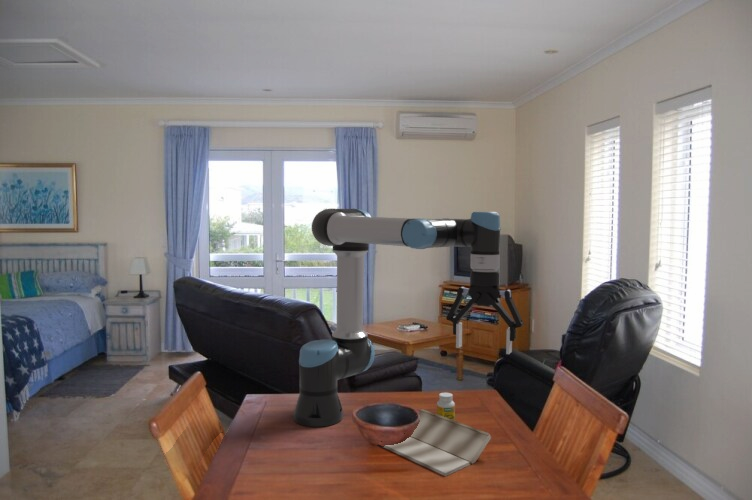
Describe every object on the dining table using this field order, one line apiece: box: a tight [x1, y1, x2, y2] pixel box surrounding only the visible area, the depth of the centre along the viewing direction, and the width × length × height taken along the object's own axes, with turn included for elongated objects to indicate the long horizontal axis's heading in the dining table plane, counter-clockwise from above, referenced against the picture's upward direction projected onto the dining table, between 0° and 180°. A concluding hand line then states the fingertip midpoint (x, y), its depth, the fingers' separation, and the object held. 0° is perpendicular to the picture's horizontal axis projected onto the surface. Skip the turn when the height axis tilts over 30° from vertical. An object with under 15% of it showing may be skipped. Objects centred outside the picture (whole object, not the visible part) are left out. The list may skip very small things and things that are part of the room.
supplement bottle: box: [436, 392, 456, 421], centre depth 165 cm, size 5×5×10 cm
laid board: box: [383, 437, 472, 477], centre depth 144 cm, size 24×10×2 cm, turn 42°
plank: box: [411, 408, 492, 465], centre depth 149 cm, size 24×9×2 cm
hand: (483, 350), depth 146 cm, fingers open, 13 cm apart
